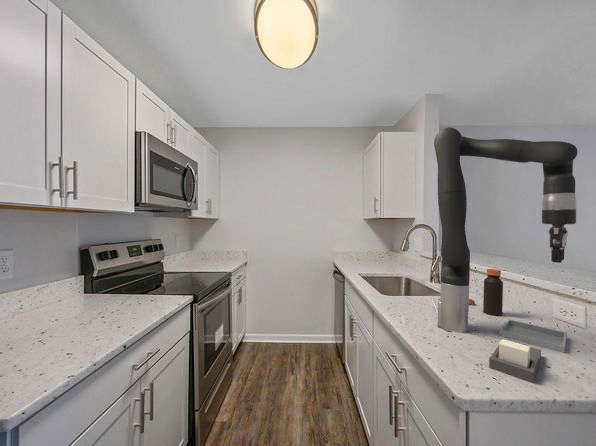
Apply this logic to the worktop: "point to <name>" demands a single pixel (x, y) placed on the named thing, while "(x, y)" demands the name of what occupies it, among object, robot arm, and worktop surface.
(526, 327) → the tray
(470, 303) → the pastry
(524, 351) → the block
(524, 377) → the grey slotted base
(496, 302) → the bottle
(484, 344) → the worktop surface
